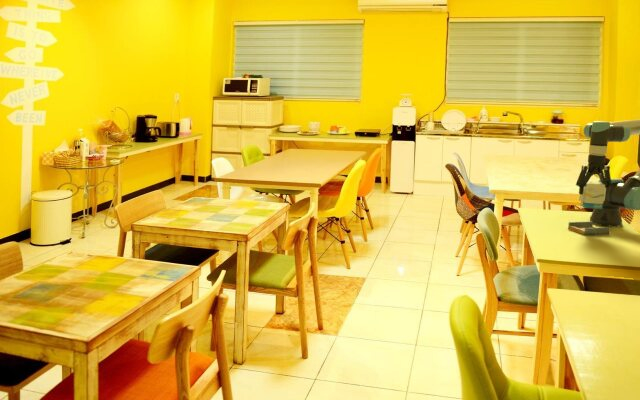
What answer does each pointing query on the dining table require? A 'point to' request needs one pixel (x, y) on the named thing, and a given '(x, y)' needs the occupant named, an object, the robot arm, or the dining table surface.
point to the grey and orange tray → (588, 228)
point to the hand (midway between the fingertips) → (591, 200)
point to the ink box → (593, 195)
